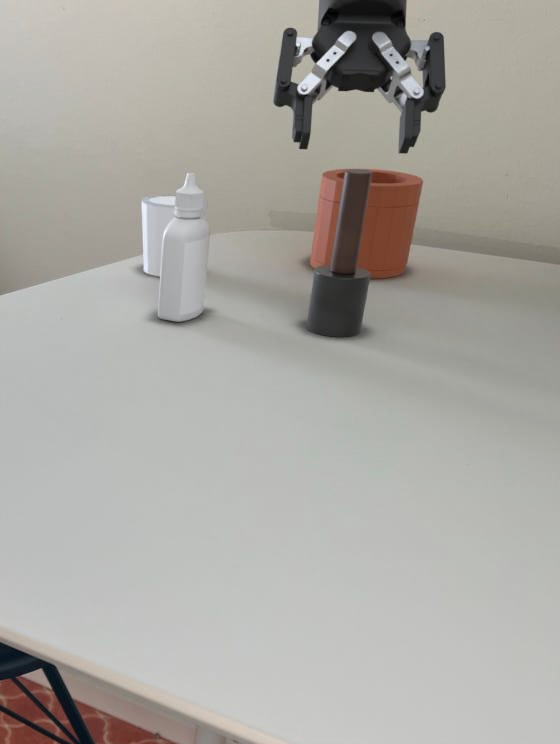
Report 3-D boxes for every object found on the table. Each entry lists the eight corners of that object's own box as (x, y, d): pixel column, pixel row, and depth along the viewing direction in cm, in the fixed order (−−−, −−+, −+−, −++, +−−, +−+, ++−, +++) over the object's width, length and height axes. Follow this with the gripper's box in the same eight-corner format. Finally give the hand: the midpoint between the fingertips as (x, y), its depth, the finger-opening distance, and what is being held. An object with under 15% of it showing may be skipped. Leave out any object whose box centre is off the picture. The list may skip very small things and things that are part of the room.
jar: (384, 255, 113) (400, 168, 108) (420, 278, 105) (438, 185, 100) (298, 255, 112) (309, 168, 107) (326, 279, 104) (340, 186, 99)
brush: (350, 320, 92) (376, 166, 84) (368, 336, 88) (397, 176, 80) (299, 321, 91) (321, 166, 84) (315, 337, 87) (340, 176, 80)
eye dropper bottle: (219, 317, 92) (232, 175, 85) (168, 324, 89) (178, 180, 83) (192, 305, 95) (203, 167, 88) (142, 312, 92) (150, 171, 86)
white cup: (177, 260, 109) (182, 191, 105) (215, 274, 104) (221, 203, 101) (125, 267, 106) (128, 196, 102) (161, 282, 101) (166, 208, 98)
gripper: (288, -55, 85) (276, 111, 82) (458, -52, 84) (453, 117, 81) (277, 16, 92) (266, 170, 89) (433, 20, 91) (427, 177, 88)
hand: (355, 145), depth 85 cm, fingers open, 8 cm apart
